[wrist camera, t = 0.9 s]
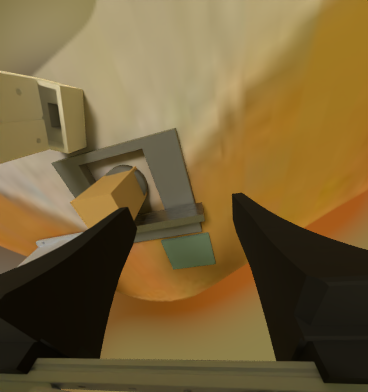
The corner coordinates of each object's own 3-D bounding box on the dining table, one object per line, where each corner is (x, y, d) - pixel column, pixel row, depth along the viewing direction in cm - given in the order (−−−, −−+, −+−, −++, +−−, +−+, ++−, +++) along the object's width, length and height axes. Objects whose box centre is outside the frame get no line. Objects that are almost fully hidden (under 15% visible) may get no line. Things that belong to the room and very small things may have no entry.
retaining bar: (100, 228, 23) (88, 244, 20) (95, 221, 22) (82, 236, 19) (203, 209, 20) (205, 224, 18) (201, 200, 20) (203, 214, 17)
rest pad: (173, 267, 29) (173, 269, 28) (161, 240, 25) (161, 241, 25) (215, 262, 27) (215, 263, 27) (208, 232, 24) (208, 234, 24)
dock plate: (111, 241, 26) (108, 246, 25) (58, 160, 19) (51, 163, 18) (201, 225, 23) (201, 231, 22) (175, 127, 17) (174, 129, 16)
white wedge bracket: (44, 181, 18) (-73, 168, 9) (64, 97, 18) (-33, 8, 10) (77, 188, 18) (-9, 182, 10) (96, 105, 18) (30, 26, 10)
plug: (118, 204, 22) (91, 240, 16) (100, 170, 20) (60, 198, 14) (153, 196, 21) (137, 232, 15) (138, 160, 19) (113, 185, 13)
